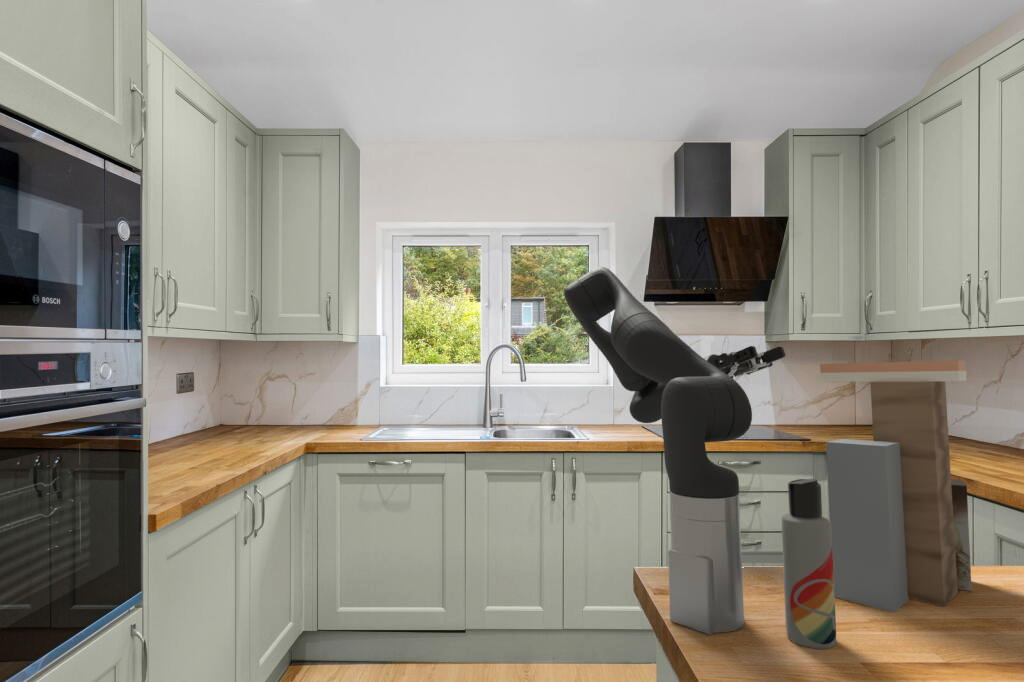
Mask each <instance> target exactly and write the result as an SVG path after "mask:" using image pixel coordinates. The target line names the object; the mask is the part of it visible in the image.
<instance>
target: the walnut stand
mask: <svg viewBox="0 0 1024 682" xmlns="http://www.w3.org/2000/svg"><path fill="white" fill-rule="evenodd" d="M869 383H870V398H871V399H870V400H871V401H870V403H871V420H872V421H871V423H872V437H873V438H872V439H873V440H872V441H882V442H897V443H900V459H901V477H902V496H903V514H904V533H905V551H906V569H907V588H908V599H910V600H915V601H920V602H924V603H928V604H932V605H936V606H941V607H946V605H948V604H949V603H950V602H951V601H952V600H953V599H954V598H956V596H958V595H959V592H958V591H959V589H957V572H956V555H955V538H954V522H953V505H952V488H951V479H952V475H951V474H952V473H951V472H952V471H951V459H950V458H951V456H950V441H949V440H950V439H949V438H950V437H949V422H948V420H949V419H948V409H947V408H948V406H947V404H948V403H947V391H946V390H947V389H946V381H924V382H869Z"/></svg>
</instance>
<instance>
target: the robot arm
mask: <svg viewBox="0 0 1024 682" xmlns="http://www.w3.org/2000/svg"><path fill="white" fill-rule="evenodd" d="M563 295H564V298H565V301H566V304H567V306H568V307H569V309H570V311H571V312H572V314H573V316H574V317H575V318H576V320H577V322H579V325H581V327H582V328H583V330H584V331H585V332H586V333H587V335H588V337H589V338H590V340H591V341H592V342H593V344H594V345H595V347H597V348H598V350H599V351H600V352H601V354H602V355H603V356H604V358H605V359H606V360H607V361H608V363H609V364H610V366H611V368H612V370H613V372H614V374H615V375H616V377H617V378H618V381H619V383H620V384H621V385H622V387H623V388H624V389H625V390H627V391H629V392H634V393H633V395H632V399H631V400H630V404H629V413H630V416H631V417H632V418H633V419H634V420H635V421H636V422H639V423H640V424H641V423H642V424H652V423H656V422H658V421H660V420H661V430H662V438H663V439H662V440H663V451H664V453H663V454H664V465H665V469H666V473H667V478H668V483H669V484H668V485H669V514H670V517H669V518H670V519H669V520H670V547H671V548H670V549H669V550H668V551H667V559H668V560H667V561H668V564H667V565H668V595H669V600H668V602H669V620H670V621H671V622H673V623H676V624H679V625H682V626H685V627H687V628H690V629H692V630H696V631H699V632H701V633H704V634H706V635H713V634H714V633H727V632H732V631H736V630H739V629H741V628H742V627H744V623H745V615H744V614H745V613H744V612H745V611H744V588H743V587H744V586H743V585H744V583H743V563H742V561H743V560H742V559H743V557H742V541H741V540H742V537H741V511H740V508H741V507H740V506H741V505H740V483H739V481H740V480H739V476H738V474H737V472H736V471H734V470H732V469H730V468H726V467H725V466H720V465H717V463H714V462H713V461H711V460H710V459H709V457H708V455H707V450H706V443H718V442H719V443H721V442H727V441H728V442H729V441H734V440H736V439H739V438H740V437H743V436H744V435H745V434H746V433H747V432H748V431H749V429H750V428H751V424H752V421H753V412H752V411H753V409H752V406H751V402H750V399H749V397H748V395H747V393H746V391H745V390H744V389H743V387H742V386H741V385H740V384H739V382H738V381H736V380H735V379H734V378H738V377H742V376H744V375H751V374H753V373H755V372H759V371H762V370H763V369H768V368H771V367H772V366H773V365H774V364H773V362H776V361H779V360H781V359H784V358H786V352H785V350H784V347H783V346H776V347H774V348H772V349H769V350H767V351H763V352H760V353H758V352H757V348H756V347H755V346H754V345H750V346H748V347H745V348H743V349H740V350H737V351H731V352H729V353H727V352H723V353H721V354H719V355H718V354H716V353H715V354H709V355H707V356H705V357H702V356H701V355H699V353H697V352H696V351H695V350H694V349H693V348H691V346H689V345H688V344H687V343H686V342H685V341H684V340H683V339H681V338H680V337H679V336H678V335H677V334H675V332H673V330H671V329H670V327H669V326H668V325H666V324H665V322H663V321H662V320H661V319H660V318H659V317H658V316H657V315H656V314H654V313H653V312H652V311H651V310H650V309H649V308H647V307H646V305H644V304H642V302H640V300H638V299H637V298H636V297H635V296H634V295H633V294H632V292H631V291H630V290H629V289H628V288H627V287H626V286H625V284H624V283H623V282H622V281H621V280H620V279H619V278H618V276H617V275H616V274H615V273H614V272H612V270H610V269H609V268H607V267H605V266H598V267H595V268H594V269H591V270H590V271H588V272H587V273H585V274H584V275H582V276H581V277H579V278H578V279H575V280H574V281H573V282H571V283H569V284H568V285H566V287H565V288H564V290H563ZM613 311H614V312H613ZM612 312H613V315H612V321H611V325H610V331H608V330H606V329H605V328H603V327H602V326H601V325H600V324H599V323H598V321H599V320H601V319H602V318H604V317H605V316H607V315H609V314H610V313H612Z"/></svg>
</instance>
